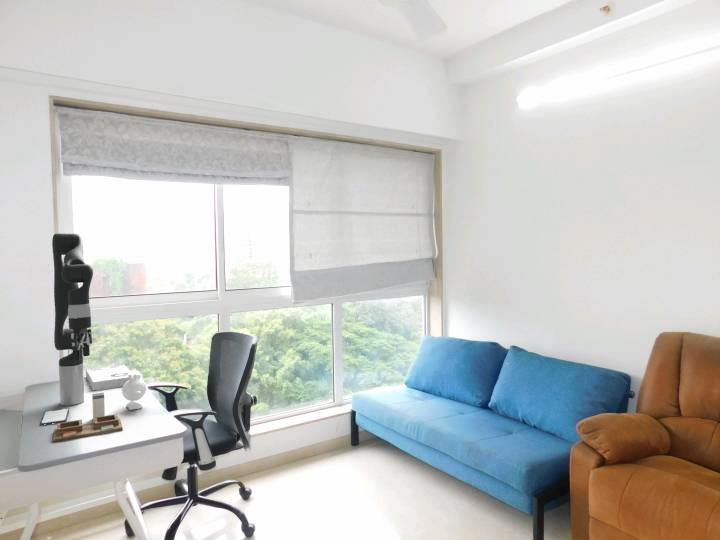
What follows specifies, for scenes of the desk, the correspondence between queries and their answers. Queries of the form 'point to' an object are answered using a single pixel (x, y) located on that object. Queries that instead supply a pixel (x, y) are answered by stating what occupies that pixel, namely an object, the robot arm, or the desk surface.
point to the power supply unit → (108, 377)
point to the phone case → (55, 416)
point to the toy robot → (134, 391)
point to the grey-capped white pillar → (98, 405)
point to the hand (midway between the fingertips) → (81, 358)
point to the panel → (87, 428)
